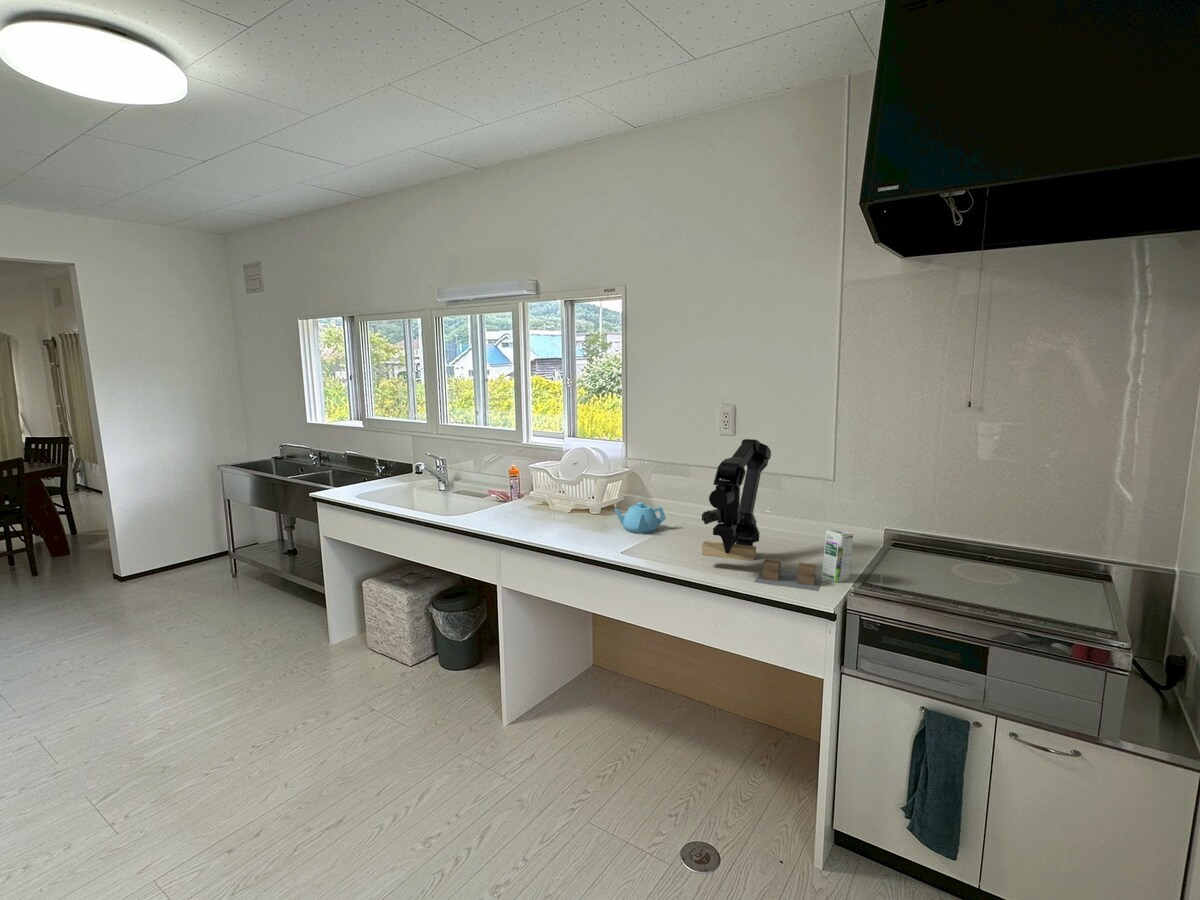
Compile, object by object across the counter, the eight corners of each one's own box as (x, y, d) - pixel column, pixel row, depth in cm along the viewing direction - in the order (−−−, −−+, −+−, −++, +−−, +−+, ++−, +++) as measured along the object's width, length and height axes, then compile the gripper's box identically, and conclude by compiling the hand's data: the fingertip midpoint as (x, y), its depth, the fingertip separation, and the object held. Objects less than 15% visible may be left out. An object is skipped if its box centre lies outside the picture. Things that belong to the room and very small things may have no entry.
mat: (762, 568, 193) (762, 567, 192) (822, 576, 185) (822, 575, 185) (754, 583, 180) (754, 582, 180) (818, 592, 173) (818, 591, 173)
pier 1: (764, 574, 187) (765, 558, 186) (780, 576, 185) (780, 560, 184) (762, 578, 183) (762, 562, 182) (777, 580, 181) (778, 564, 180)
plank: (704, 551, 196) (705, 540, 196) (755, 557, 190) (756, 546, 189) (701, 555, 192) (702, 544, 192) (753, 561, 186) (753, 550, 186)
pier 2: (799, 578, 183) (799, 562, 182) (815, 580, 181) (815, 564, 180) (797, 583, 178) (797, 567, 178) (813, 585, 177) (814, 569, 176)
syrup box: (820, 577, 184) (825, 530, 181) (832, 573, 187) (837, 527, 185) (837, 583, 179) (842, 535, 177) (849, 579, 182) (854, 532, 180)
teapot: (641, 537, 228) (641, 509, 226) (612, 529, 239) (612, 502, 237) (667, 529, 238) (668, 502, 237) (639, 522, 249) (639, 496, 248)
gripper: (711, 494, 200) (710, 540, 203) (696, 506, 184) (695, 556, 186) (746, 497, 196) (744, 544, 198) (733, 509, 179) (732, 561, 181)
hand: (728, 551), depth 191 cm, fingers closed on plank, 4 cm apart
